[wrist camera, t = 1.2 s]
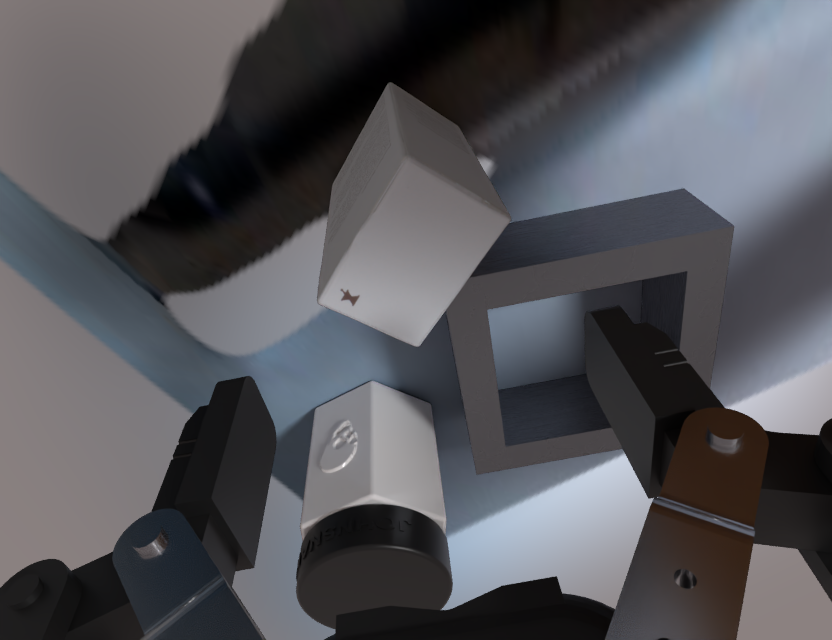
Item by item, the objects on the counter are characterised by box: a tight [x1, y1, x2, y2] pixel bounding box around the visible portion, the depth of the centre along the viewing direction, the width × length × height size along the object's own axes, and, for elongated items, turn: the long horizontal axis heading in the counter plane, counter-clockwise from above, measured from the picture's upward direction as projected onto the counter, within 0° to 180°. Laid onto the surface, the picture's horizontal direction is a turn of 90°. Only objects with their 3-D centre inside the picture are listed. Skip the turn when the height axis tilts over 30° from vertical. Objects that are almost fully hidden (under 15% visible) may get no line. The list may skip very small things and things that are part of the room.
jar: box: [296, 381, 453, 629], centre depth 33 cm, size 9×8×12 cm
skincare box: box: [317, 82, 511, 347], centre depth 23 cm, size 6×4×12 cm
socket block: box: [445, 189, 734, 474], centre depth 32 cm, size 14×14×5 cm
